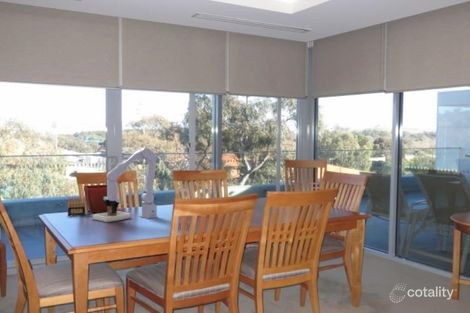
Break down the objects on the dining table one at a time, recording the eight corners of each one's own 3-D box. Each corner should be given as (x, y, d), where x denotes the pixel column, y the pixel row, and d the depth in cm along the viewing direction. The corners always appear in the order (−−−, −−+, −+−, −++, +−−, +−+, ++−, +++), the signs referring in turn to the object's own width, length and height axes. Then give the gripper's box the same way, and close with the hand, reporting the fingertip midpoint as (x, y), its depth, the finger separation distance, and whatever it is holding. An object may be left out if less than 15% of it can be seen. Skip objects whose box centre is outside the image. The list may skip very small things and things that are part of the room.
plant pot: (83, 209, 314) (83, 185, 313) (111, 207, 322) (111, 184, 322) (87, 214, 297) (87, 188, 296) (117, 212, 305) (117, 187, 305)
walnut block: (116, 215, 282) (116, 206, 281) (111, 216, 279) (111, 206, 278) (112, 214, 284) (112, 205, 284) (107, 215, 281) (107, 205, 281)
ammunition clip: (67, 215, 291) (67, 196, 290) (67, 214, 293) (67, 196, 292) (85, 214, 295) (85, 196, 294) (85, 214, 296) (85, 195, 296)
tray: (130, 218, 284) (130, 213, 284) (106, 222, 270) (106, 217, 270) (117, 215, 293) (117, 210, 293) (92, 219, 279) (92, 214, 279)
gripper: (99, 190, 282) (99, 212, 283) (113, 192, 273) (113, 214, 274) (109, 189, 287) (108, 210, 288) (123, 191, 278) (123, 213, 279)
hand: (111, 212), depth 281 cm, fingers open, 4 cm apart
